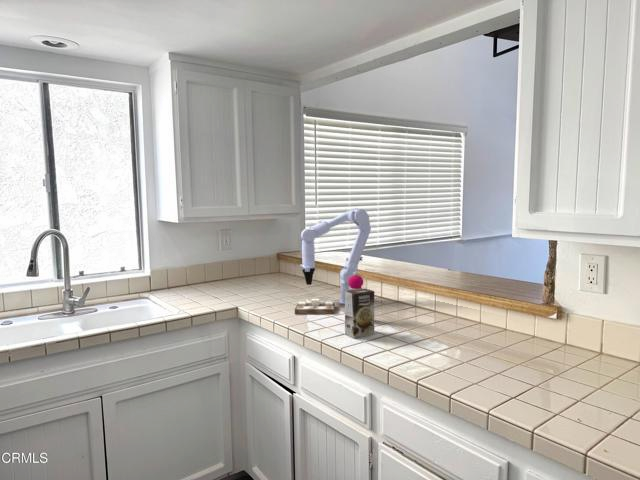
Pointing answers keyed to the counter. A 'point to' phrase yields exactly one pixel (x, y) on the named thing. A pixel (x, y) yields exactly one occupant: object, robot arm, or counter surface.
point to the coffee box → (359, 313)
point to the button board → (315, 309)
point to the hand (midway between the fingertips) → (309, 284)
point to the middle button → (315, 302)
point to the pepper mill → (355, 282)
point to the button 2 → (329, 304)
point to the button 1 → (301, 303)
